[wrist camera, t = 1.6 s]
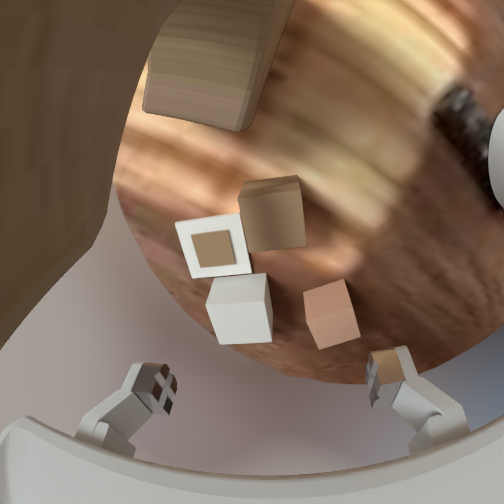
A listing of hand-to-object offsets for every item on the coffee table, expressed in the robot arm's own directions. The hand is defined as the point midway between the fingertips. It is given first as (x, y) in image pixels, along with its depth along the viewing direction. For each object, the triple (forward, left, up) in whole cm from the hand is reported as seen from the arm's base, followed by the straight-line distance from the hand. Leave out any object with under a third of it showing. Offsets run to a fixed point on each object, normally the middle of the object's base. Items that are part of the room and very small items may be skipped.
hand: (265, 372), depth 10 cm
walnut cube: (0, 0, -19) cm, 19 cm away
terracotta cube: (-5, +13, -19) cm, 24 cm away
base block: (+5, +11, -19) cm, 23 cm away
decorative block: (+1, -16, -19) cm, 25 cm away
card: (+7, +4, -19) cm, 21 cm away
